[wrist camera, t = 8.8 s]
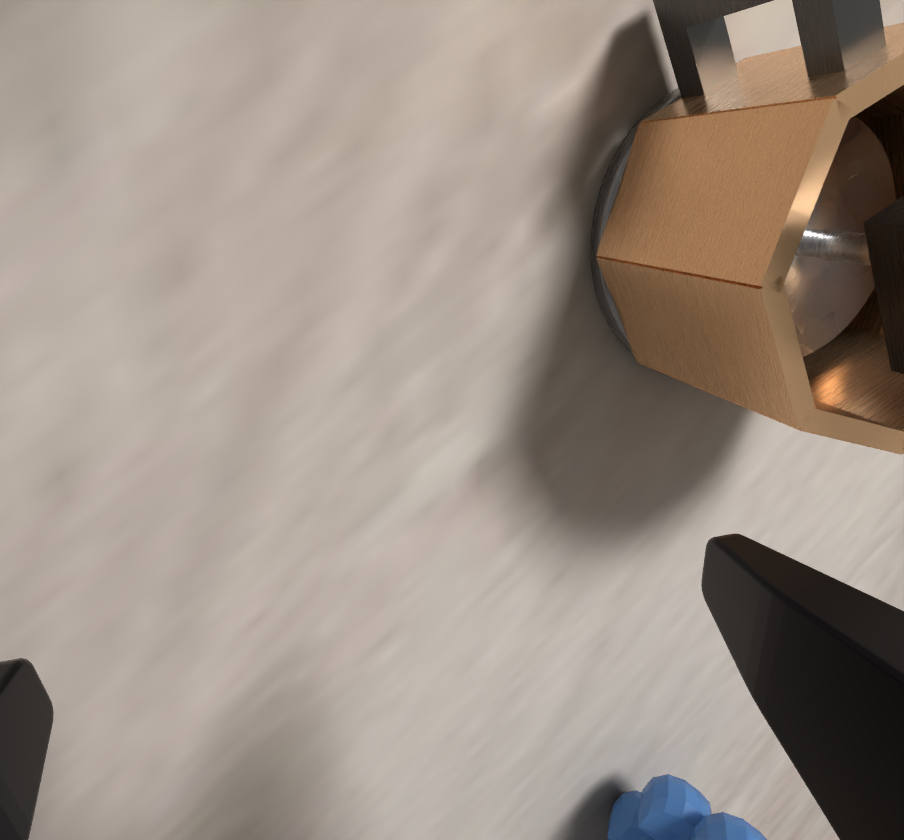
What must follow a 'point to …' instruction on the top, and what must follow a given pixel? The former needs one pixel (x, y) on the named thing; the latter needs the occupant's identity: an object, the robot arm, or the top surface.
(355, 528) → the top surface
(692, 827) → the grapes
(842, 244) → the grey cube on disc
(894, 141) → the octagonal wooden mug
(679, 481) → the top surface
